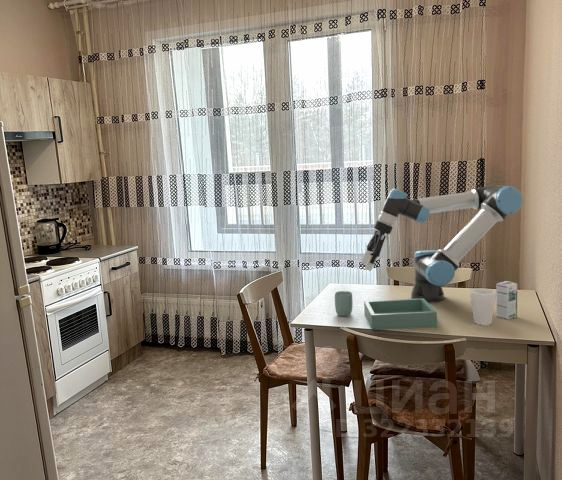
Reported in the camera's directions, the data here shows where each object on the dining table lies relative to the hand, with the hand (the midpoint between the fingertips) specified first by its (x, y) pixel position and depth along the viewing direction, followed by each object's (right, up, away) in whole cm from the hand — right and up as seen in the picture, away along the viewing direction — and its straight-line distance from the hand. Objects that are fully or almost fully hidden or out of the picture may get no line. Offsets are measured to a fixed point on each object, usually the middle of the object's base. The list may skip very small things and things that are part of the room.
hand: (365, 266), depth 224 cm
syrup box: (+56, -20, -15) cm, 61 cm away
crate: (+12, -22, -12) cm, 28 cm away
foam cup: (+44, -22, -21) cm, 53 cm away
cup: (-10, -21, -2) cm, 24 cm away
